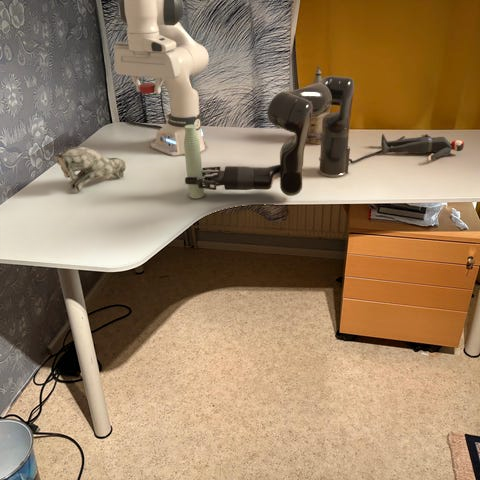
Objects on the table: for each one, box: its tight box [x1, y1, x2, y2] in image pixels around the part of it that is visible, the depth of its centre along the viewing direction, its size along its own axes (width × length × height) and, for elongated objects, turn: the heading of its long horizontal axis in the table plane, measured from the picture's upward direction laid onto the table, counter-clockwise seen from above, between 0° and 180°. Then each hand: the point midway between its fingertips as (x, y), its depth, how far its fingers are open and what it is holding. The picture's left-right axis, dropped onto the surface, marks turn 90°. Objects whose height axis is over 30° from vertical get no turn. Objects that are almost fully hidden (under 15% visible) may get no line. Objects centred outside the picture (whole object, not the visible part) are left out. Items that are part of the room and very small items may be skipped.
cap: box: [139, 82, 156, 95], centre depth 156 cm, size 5×5×2 cm
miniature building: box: [306, 65, 333, 145], centre depth 213 cm, size 13×14×30 cm
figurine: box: [54, 146, 127, 193], centre depth 180 cm, size 10×19×20 cm
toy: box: [380, 133, 465, 162], centre depth 205 cm, size 26×6×30 cm
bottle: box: [184, 125, 205, 199], centre depth 169 cm, size 5×5×23 cm
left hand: (148, 92), depth 157 cm, fingers closed on cap, 4 cm apart
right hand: (186, 177), depth 172 cm, fingers closed on bottle, 5 cm apart
